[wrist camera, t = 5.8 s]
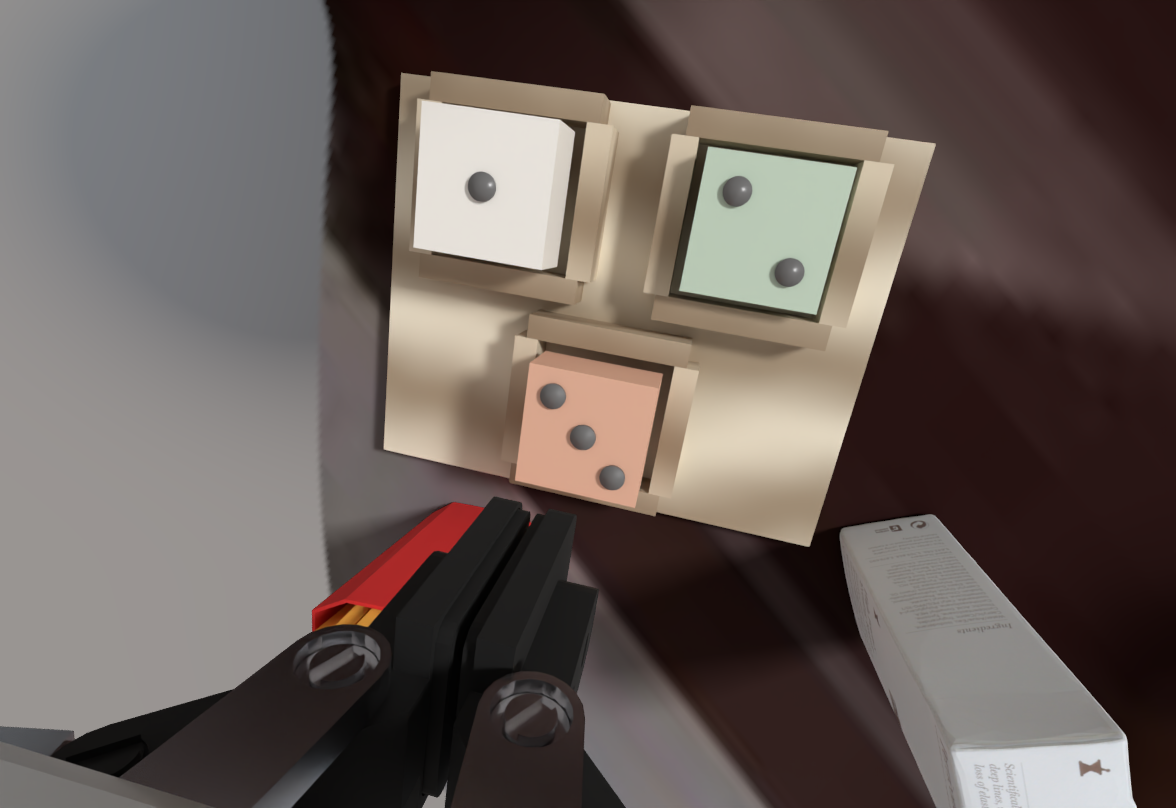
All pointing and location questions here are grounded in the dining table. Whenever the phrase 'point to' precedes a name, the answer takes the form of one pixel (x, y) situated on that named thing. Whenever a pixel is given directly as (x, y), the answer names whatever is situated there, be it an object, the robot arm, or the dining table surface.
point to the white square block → (492, 184)
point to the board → (648, 307)
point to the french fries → (394, 568)
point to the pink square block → (587, 427)
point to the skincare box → (976, 679)
